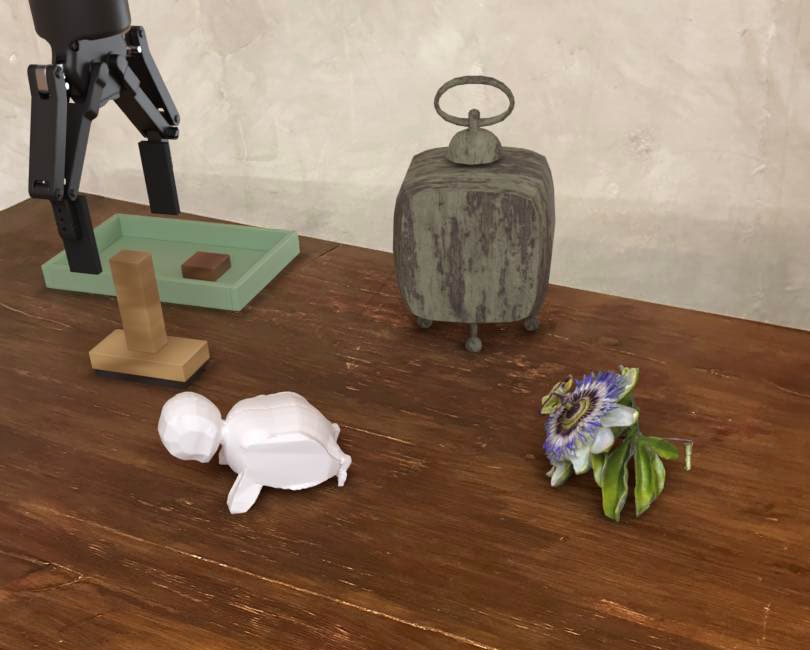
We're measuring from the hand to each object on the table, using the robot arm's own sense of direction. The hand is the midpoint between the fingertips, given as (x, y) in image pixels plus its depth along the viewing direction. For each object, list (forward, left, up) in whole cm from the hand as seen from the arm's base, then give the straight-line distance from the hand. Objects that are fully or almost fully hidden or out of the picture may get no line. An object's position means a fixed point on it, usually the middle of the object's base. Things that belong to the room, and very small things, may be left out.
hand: (128, 241), depth 100 cm
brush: (0, 0, -13) cm, 13 cm away
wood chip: (-5, +21, -13) cm, 25 cm away
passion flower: (+45, -6, -14) cm, 47 cm away
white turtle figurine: (+18, -14, -14) cm, 26 cm away
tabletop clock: (+28, +14, -14) cm, 34 cm away
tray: (-9, +21, -13) cm, 27 cm away
